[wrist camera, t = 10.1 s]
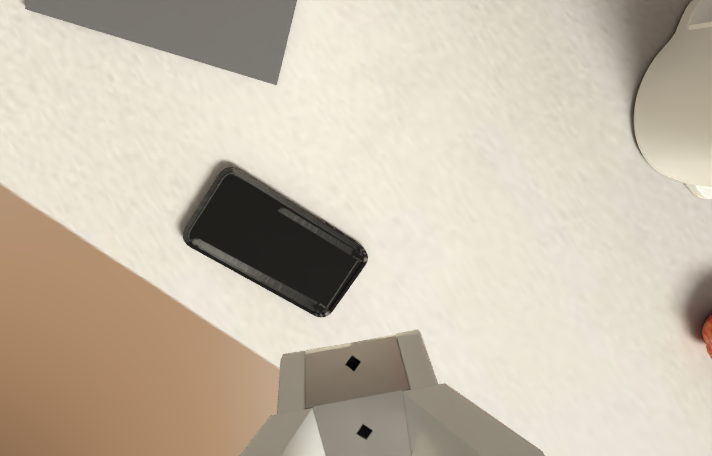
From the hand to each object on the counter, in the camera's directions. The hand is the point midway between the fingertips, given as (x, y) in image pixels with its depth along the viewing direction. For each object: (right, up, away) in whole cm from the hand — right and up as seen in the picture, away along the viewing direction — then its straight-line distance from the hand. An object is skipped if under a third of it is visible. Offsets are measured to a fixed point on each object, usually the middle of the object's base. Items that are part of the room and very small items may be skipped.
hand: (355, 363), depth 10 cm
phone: (-7, +2, +32) cm, 32 cm away
